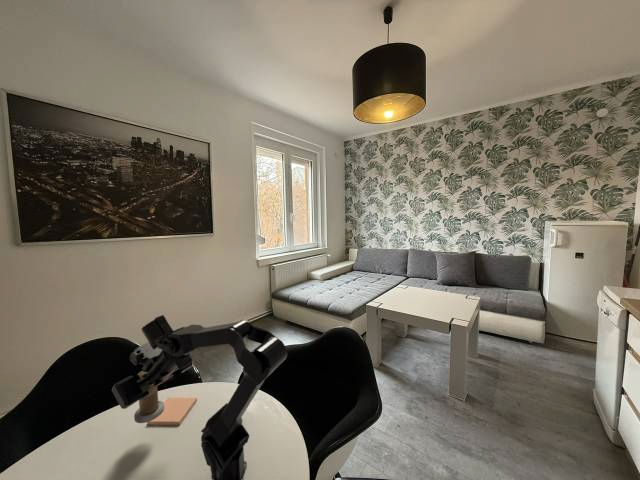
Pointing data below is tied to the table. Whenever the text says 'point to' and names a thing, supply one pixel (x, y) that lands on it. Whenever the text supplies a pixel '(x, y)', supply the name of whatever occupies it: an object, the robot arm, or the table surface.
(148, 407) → the tamper
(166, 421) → the tile rest
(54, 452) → the table surface
